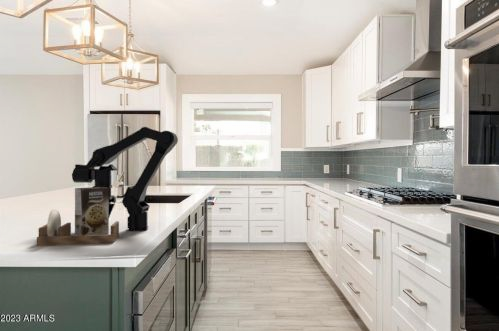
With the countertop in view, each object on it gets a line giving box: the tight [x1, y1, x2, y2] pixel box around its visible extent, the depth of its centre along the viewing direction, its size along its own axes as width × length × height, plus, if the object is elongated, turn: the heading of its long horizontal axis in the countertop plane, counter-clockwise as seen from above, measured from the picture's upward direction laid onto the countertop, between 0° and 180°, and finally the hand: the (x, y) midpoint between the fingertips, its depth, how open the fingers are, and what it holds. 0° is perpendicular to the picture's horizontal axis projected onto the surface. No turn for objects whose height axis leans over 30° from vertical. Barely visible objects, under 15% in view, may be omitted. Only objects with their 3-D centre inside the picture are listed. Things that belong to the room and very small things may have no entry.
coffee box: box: [74, 186, 110, 236], centre depth 122 cm, size 9×6×16 cm
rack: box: [36, 209, 120, 247], centre depth 114 cm, size 22×10×10 cm, turn 101°
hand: (103, 224), depth 134 cm, fingers open, 8 cm apart
